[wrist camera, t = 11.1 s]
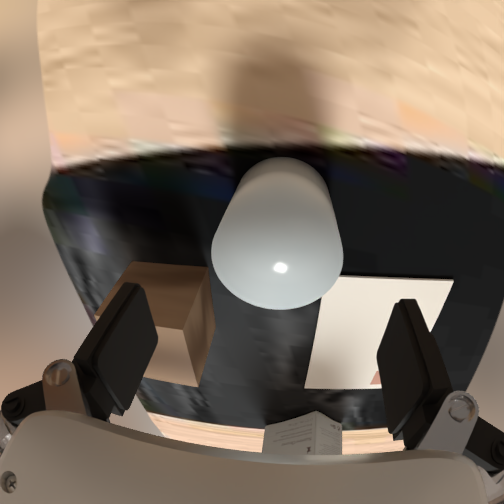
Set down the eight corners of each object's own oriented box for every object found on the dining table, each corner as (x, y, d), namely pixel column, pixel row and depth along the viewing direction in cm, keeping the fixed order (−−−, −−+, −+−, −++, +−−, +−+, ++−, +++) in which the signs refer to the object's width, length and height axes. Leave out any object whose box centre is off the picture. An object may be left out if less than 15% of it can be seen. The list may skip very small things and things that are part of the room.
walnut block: (132, 260, 22) (94, 315, 17) (208, 266, 21) (182, 330, 16) (149, 317, 25) (122, 371, 20) (215, 326, 24) (198, 387, 19)
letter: (325, 274, 20) (325, 276, 20) (452, 279, 19) (453, 281, 19) (304, 386, 28) (304, 388, 27) (398, 385, 26) (398, 387, 26)
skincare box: (316, 408, 30) (309, 533, 18) (344, 423, 32) (342, 533, 20) (262, 425, 34) (246, 531, 22) (292, 439, 36) (282, 535, 23)
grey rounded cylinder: (234, 155, 16) (205, 197, 11) (333, 159, 16) (351, 204, 11) (237, 240, 19) (217, 304, 14) (325, 244, 19) (333, 312, 14)
